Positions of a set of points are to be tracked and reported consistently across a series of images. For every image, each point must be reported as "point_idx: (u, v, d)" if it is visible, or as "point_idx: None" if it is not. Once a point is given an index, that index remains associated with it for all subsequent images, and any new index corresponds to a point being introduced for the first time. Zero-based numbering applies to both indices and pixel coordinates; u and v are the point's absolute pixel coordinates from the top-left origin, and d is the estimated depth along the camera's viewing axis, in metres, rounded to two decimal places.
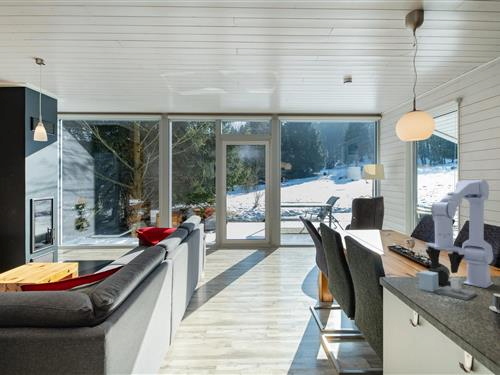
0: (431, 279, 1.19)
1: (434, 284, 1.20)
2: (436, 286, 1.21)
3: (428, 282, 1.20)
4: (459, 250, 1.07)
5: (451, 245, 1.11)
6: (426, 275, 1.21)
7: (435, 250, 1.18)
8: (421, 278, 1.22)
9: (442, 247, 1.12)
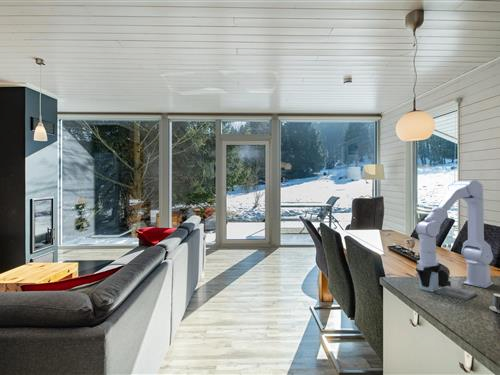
0: (431, 279, 1.19)
1: (434, 284, 1.20)
2: (436, 286, 1.21)
3: None
4: None
5: (425, 262, 1.21)
6: None
7: (431, 267, 1.24)
8: None
9: None
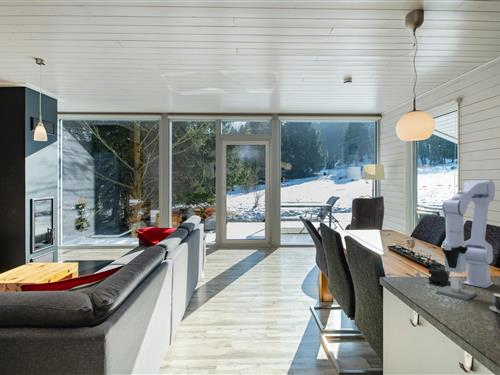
0: (459, 260, 1.14)
1: (462, 265, 1.14)
2: (463, 267, 1.15)
3: None
4: None
5: (452, 242, 1.15)
6: None
7: (458, 248, 1.18)
8: None
9: (445, 242, 1.18)
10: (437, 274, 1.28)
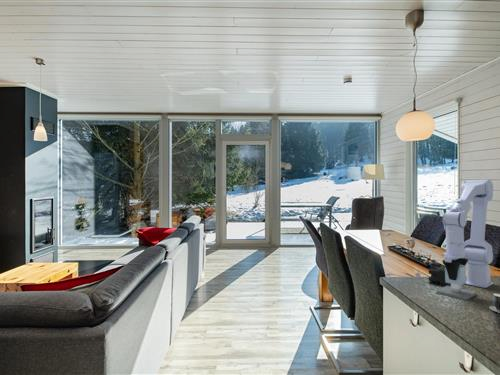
0: (459, 272, 1.13)
1: (462, 277, 1.14)
2: (464, 279, 1.15)
3: None
4: None
5: (452, 254, 1.15)
6: None
7: (458, 259, 1.18)
8: None
9: (445, 254, 1.18)
10: (437, 274, 1.28)
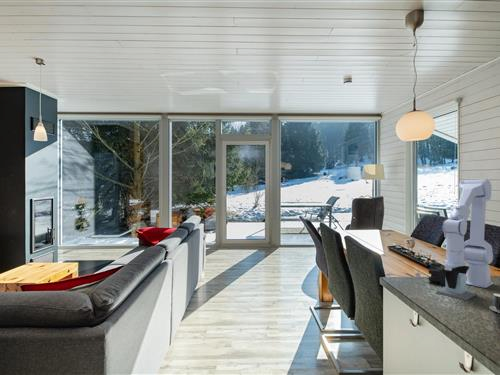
0: (459, 281, 1.13)
1: (462, 286, 1.14)
2: (464, 288, 1.15)
3: (456, 284, 1.14)
4: None
5: (453, 262, 1.15)
6: None
7: (459, 267, 1.19)
8: None
9: (446, 262, 1.18)
10: (437, 274, 1.28)
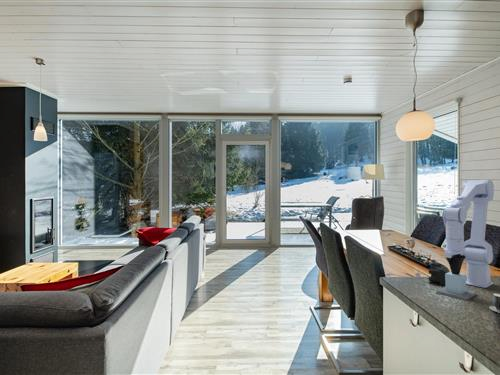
0: (459, 281, 1.13)
1: (462, 286, 1.14)
2: (464, 288, 1.15)
3: (456, 284, 1.14)
4: None
5: (452, 249, 1.15)
6: (454, 276, 1.15)
7: None
8: (448, 279, 1.16)
9: (445, 250, 1.18)
10: (437, 274, 1.28)
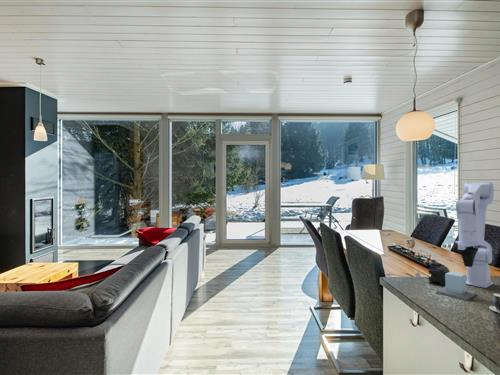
0: (459, 281, 1.13)
1: (462, 286, 1.14)
2: (464, 288, 1.15)
3: (456, 284, 1.14)
4: None
5: (465, 242, 1.15)
6: (454, 276, 1.15)
7: None
8: (448, 279, 1.16)
9: (458, 242, 1.18)
10: (437, 274, 1.28)
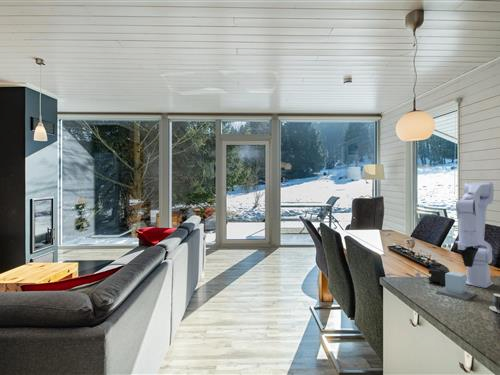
0: (459, 281, 1.13)
1: (462, 286, 1.14)
2: (464, 288, 1.15)
3: (456, 284, 1.14)
4: None
5: (465, 242, 1.15)
6: (454, 276, 1.15)
7: None
8: (448, 279, 1.16)
9: (458, 242, 1.18)
10: (437, 274, 1.28)
